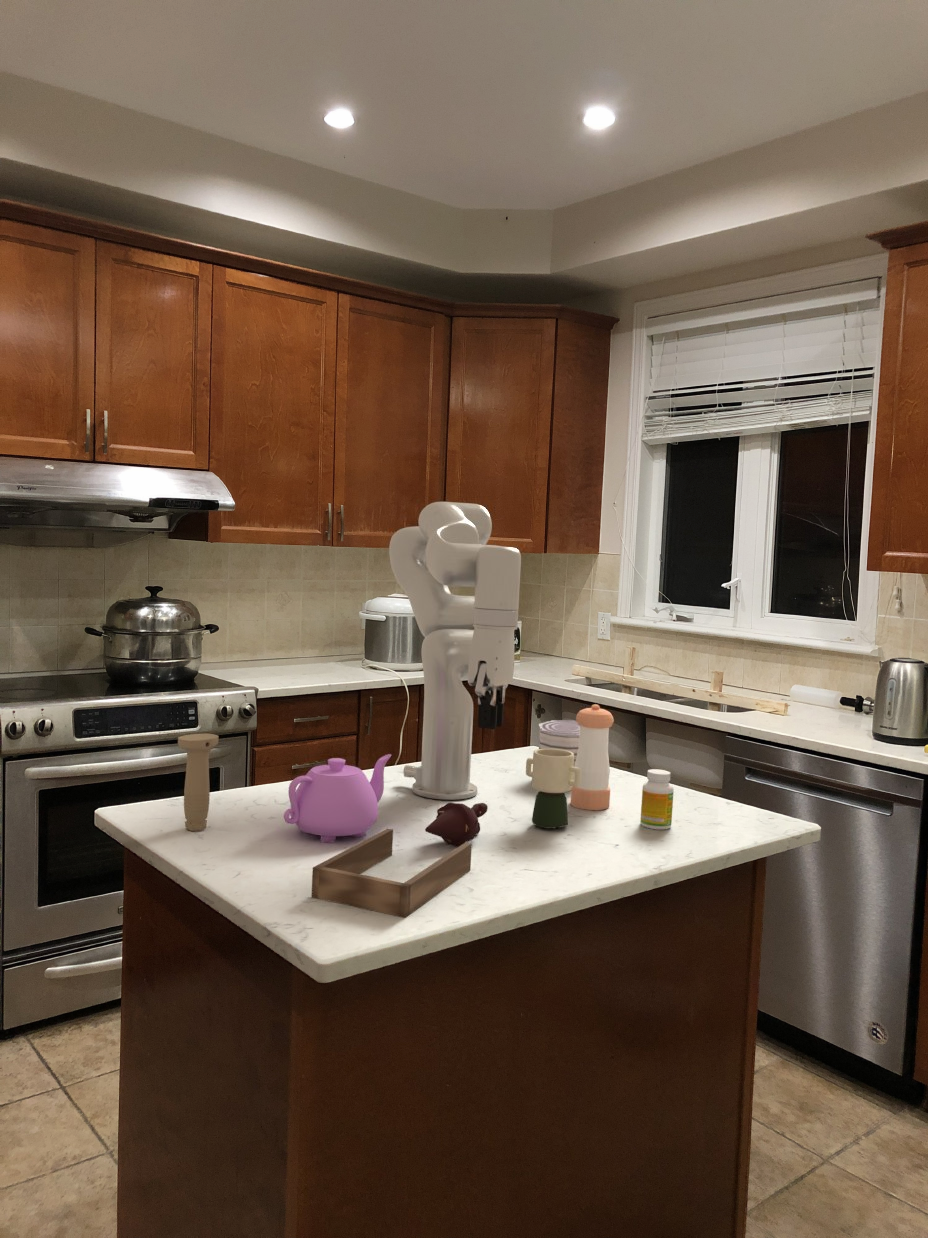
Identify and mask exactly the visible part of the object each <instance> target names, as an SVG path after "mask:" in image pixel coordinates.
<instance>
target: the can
mask: <svg viewBox="0 0 928 1238" xmlns="http://www.w3.org/2000/svg"><path fill="white" fill-rule="evenodd" d="M538 727H539V740H538V749H561V750H567V751H570V752H572V753H574V766H575V761H576V757H577V752H578V747H579V732H580V725H578V723H577V720H574V719H573V720H572V719H571V720H570V719H568V720H564V719H562V720H561V719H560V720H559V719H557V720H556V719H554V720H553V719H552V720H548V721H544V722H541V723H538ZM573 781H574V780H573Z"/></svg>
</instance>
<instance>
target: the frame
mask: <svg viewBox="0 0 928 1238" xmlns="http://www.w3.org/2000/svg"><path fill="white" fill-rule="evenodd" d="M393 839H394V829H393V828H389V827H388V828H386V829H383V830H382V831H380V832H378V833H376V834H373V835H372V836H370V837H368V838H366V839H364V840H363V841H361V842H359V843H356V844H355V845H353V846H351V847H349V848H347V849H345V850H343V851H341V852H339V853H337V854H335V855H334V856H332V857H330V858H328V859H326V860H324V861H322V862H320V863H318V864H317V865H315V866H313V867H312V875H311V898H314V899H319V900H324V901H328V902H333V903H338V904H342V905H347V906H351V907H355V908H360V909H365V910H369V911H373V912H378V913H384V914H388V915H393V916H397V917H401V918H407V917H409V916H410V915H411V914H413V913H414V912H416V910H418V909H420V908H421V907H422V906H424V905H425V904H426V903H428V902H429V901H430V900H432V899H433V898H434V897H436V896H437V895H438V894H440V893H441V892H443V891H445V890H446V889H447V888H448V887H450V885H452V884H454V883H455V882H457V881H458V880H459V879H460V878H462V877H464V876H465V875H466V874H467V873H468V872H470V871H471V869H472V867H471V865H472V849H473V848H472V844H473V843H470V842H465V843H464V844H462V845H461V846H459V847H456V848H455V849H453V850H452V851H450V852H449V853H447V854H446V855H444V856H443V857H441V858H440V859H438V860H436V861H435V862H434V863H432V864H430V865H428V866H427V867H426V868H424V869H423V870H421V871H419V872H418V873H417V874H415V875H414V876H412V877H410V878H409V879H407V880H406V881H405V882H400V881H394V880H390V879H385V878H381V877H375V876H370V875H366V874H362V873H364V872H366V871H367V870H369V869H371V868H372V867H374V866H376V865H379V863H381V862H383V861H384V860H386V859H388V858H389V857H391V856H393Z"/></svg>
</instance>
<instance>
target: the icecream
mask: <svg viewBox="0 0 928 1238" xmlns="http://www.w3.org/2000/svg"><path fill="white" fill-rule="evenodd" d="M488 807H489V806H488V804H486V803H484V802H480V803H479V802H478V803H475V804H473V805H472V807H469V806H468V805H465V804H464V803H462V802H461V803H455V802H448V803H447V802H446V804H445V805H442V806H441V807H439V808H437V810H436V814H437V815H436V817H435V819H434V820H433V821H432V822H431V823H430V824H428V825H427V826H426V828H425V829H424V831H425V832H426V833H428V834H431V835H435V836H436V837H437V836H438V837H440V838H441V839H442V840H443V841H444V843H445V844H446V845H448V846H449V845H450V846H454V847H456V848H458V847H459V846H461V845H462V844H464V843H465V842H466V843H468V842H470V841H472V840H473V839H474V837H475V836H477V835H478V834H479V833H480V832H481V823H480V822H479V818H480V817H482V816H484V815H486V813H487V811H488Z"/></svg>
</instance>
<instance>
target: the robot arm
mask: <svg viewBox="0 0 928 1238" xmlns="http://www.w3.org/2000/svg"><path fill="white" fill-rule="evenodd" d="M492 527H493V524H492V517H491V515H490V513H489V511H488V509H486V507H484V506H483V505H481V504H478V503H467V502H454V501H453V502H452V501H434V502H431V503H430V504H427V505H426V506H425V507H423V509H422V510H421V512H420V513H419V517H418V526H417V525H416V526H406V527H404V528H400V529H398V530H397V531H396V532H395V533H393V534H392V536H391V538H390V542H389V548H388V551H389V552H388V553H389V560H390V561H389V562H390V566H391V571H392V573H393V575H394V578H395V580H396V582H397V583H398V585H399V586H400V588H401V589H402V591H403V592H404V594H405V595H406V597H407V598H408V601H409V604H410V606H411V609H412V612H413V616H414V618H415V621H416V623H417V626H418V629H419V631H420V633H421V635H422V636H423V637H424V638H423V641H422V644H421V662H422V671H423V684H424V685H423V687H424V688H423V690H424V693H423V694H424V695H423V696H424V697H423V698H424V699H423V719H422V720H423V721H422V722H423V723H422V739H421V740H422V742H421V762H420V763H421V764H420V765H419V766H414V765H408V764H405V766H404V768H403V776H404V777H405V778H413V779H414V780H415V782H414V783H412V785H411V788H412V790H411V791H412V792H413V794H416V795H417V796H420V797H422V798H428V799H433V800H445V801H458V800H465V799H471V798H473V797H474V796H475V797H476V795H477V794H478V786H477V785H475V784H474V783H472V782H471V762H472V760H471V759H472V743H473V725H474V723H473V722H474V701H473V698H472V696H471V694H470V693H469V691H468V690H467V688H466V687H465V686H464V684H463V680H465V681H466V680H467V683H468V685H469V686H471V687H473V686H475V689H474V693H475V694H476V695H477V697H478V698H477V704H478V712H477V727H478V728H479V729H487V730H496V728H497V727H498V728H500V727H503V725H504V708H505V705H504V703H505V701H506V691H507V688H508V686H509V684H510V683H511V682H512V681H513V679H514V670H515V631H516V630H518V624H519V608H520V607H519V605H520V584H521V568H522V567H521V566H522V554H521V552H520V550H519V549H517V548H516V547H510V546H502V545H495V544H494V545H492V544H488V542H489V540H490V538H491V535H492V531H493V529H492ZM449 587H466V588H467V587H470V588H471V587H472V588H474V595H456V594H453V593H452V592H451V591H450V589H449Z"/></svg>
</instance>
